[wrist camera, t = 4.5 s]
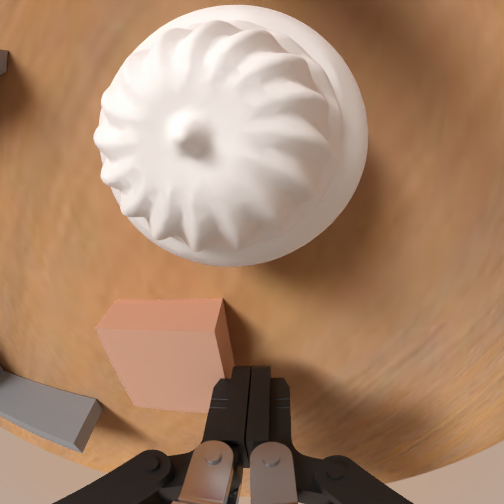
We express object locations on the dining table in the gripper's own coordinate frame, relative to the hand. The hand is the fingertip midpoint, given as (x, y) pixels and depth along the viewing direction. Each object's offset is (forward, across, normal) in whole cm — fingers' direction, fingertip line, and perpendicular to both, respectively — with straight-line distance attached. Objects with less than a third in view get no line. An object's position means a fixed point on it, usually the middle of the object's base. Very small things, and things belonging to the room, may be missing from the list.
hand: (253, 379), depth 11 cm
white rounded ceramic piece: (+2, 0, -9) cm, 9 cm away
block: (+2, +4, 0) cm, 4 cm away
